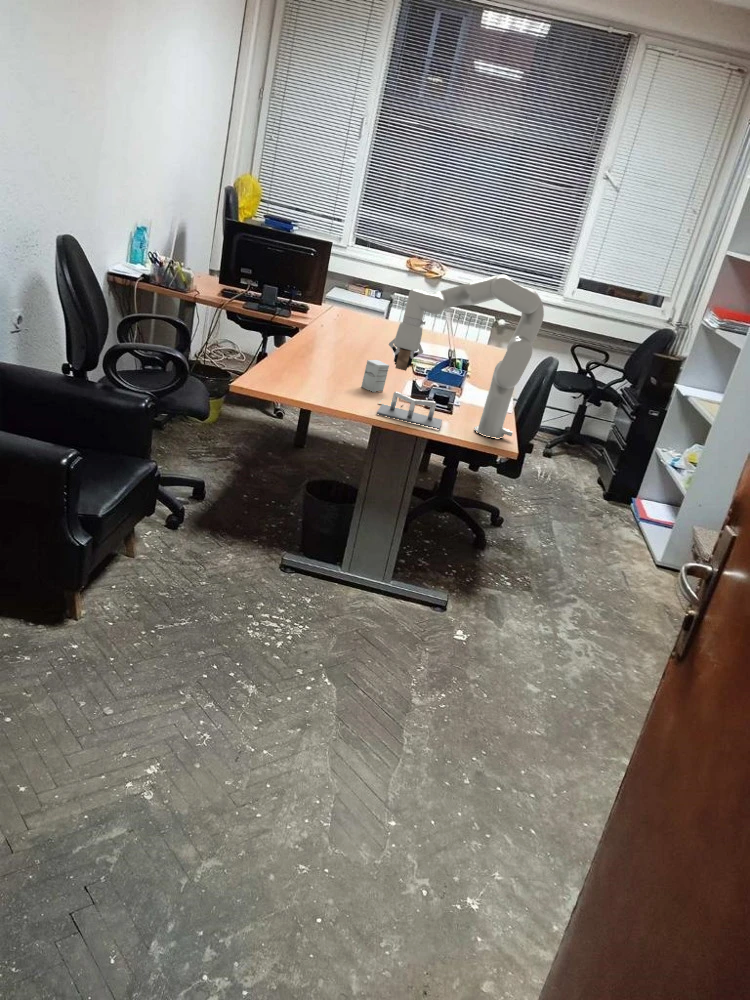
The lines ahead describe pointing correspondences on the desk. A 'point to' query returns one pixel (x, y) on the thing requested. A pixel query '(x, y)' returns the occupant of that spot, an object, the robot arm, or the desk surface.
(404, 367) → the walnut block
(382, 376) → the supplement box
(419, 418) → the base
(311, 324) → the desk surface
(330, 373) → the desk surface
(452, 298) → the robot arm
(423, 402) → the grey bridge stand
